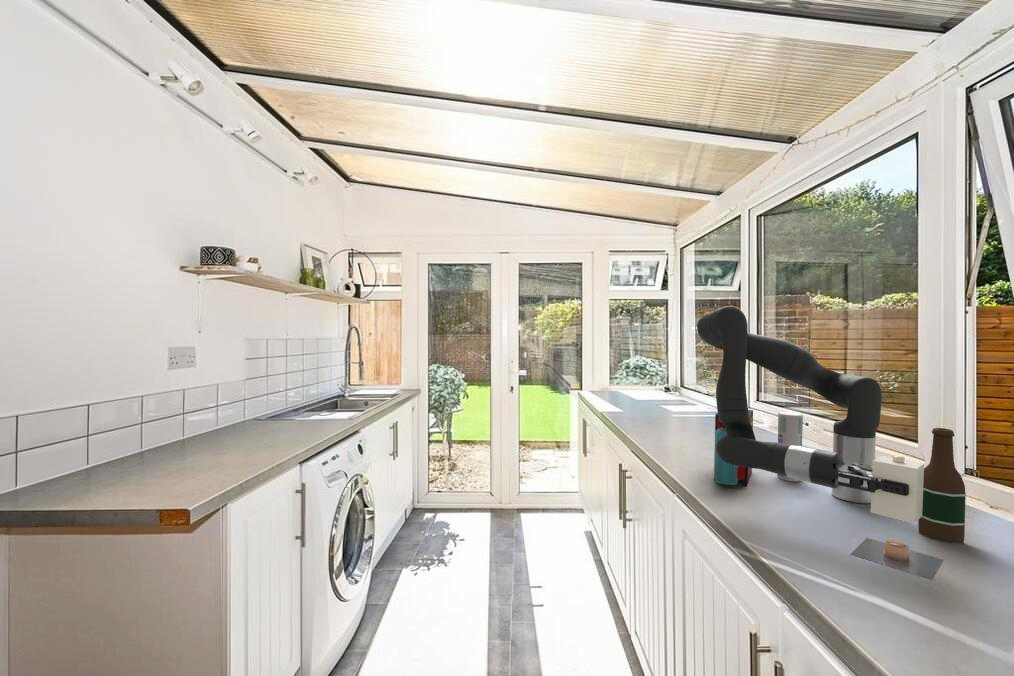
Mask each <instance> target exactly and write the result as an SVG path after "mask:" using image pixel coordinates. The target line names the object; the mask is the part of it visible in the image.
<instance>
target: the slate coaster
mask: <svg viewBox="0 0 1014 676" xmlns="http://www.w3.org/2000/svg"><path fill="white" fill-rule="evenodd" d="M849 555H850V556H853V557H857V558H860V559H863V560H867V561H869V562H873V563H877V564H879V565H883V566H885V567H889V568H891V569H894V570H898V571H902V572H905V573H908V574H911V575H914V576H918V577H921V578H924V579H926V580H927V579H928V580H930V581H933V579H934V577H935V576H936V574H937V572H938V571H939V569H940V567H941V565H942V564H943V562H944V559H943V558H940V557H935V556H932V555H930V554H929V555H928V554H925V553H922V552H918V551H915V550H911V549H910V550H909V561H906V562H904V561H897V560H894V559H891V558H888V557H886V556H885V555H884V541H879V540H876V539H873V538H869V537H866V538H864V540H863V541H862V542H861V543H860V544H859V545H858V546H857V547H855V549H853V550H852V552H850V554H849Z"/></svg>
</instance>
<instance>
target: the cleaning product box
mask: <svg viewBox="0 0 1014 676" xmlns="http://www.w3.org/2000/svg"><path fill="white" fill-rule="evenodd" d="M748 413H749V420H750V423H751V425H752V428H753V429H754V409H748ZM714 416H715V417H714V432H715V431H716V430H717V429H719V428H725V426H723V425H719V418H718V411H717V412H716V413H715V415H714ZM738 473H739V477H738V483H737V484H735V485H736V486H743V487H748V486H749V482H750V479H751V476H752V474H753V468H748V467H741V466H738ZM713 481H714V482H716V481H715V479H714V478H713Z"/></svg>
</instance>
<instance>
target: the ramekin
mask: <svg viewBox="0 0 1014 676" xmlns="http://www.w3.org/2000/svg"><path fill="white" fill-rule="evenodd" d="M883 542H884V555H885V556H886V557H888V558H891V559H894V560H897V561H904V562H906V561H909V550H911V549H910V546H909V545H908V544H906V543H904V542H901V541H896V540H891V539H889V540H888V539H887V540H884V541H883Z"/></svg>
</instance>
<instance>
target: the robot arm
mask: <svg viewBox="0 0 1014 676" xmlns="http://www.w3.org/2000/svg"><path fill="white" fill-rule="evenodd" d="M748 327H749V326H748V320H747V317H746V315H745V313H744V312H743V311H742V309H740V308H739V307H737V306H735V305H734V306H733V305H725V306H723V307H720V308H718V309H714V310H713V311H711V312H708V313H707V314H704V315H703V316H702V317H700V318H699V319H698V322H697V325H696V331H697V334H698V335H699V337H700V338H701V340H703V341H704V342H705V343H706V344H708V345H709V346H712V347H714V348H716V349H720V350H722V363H721V368H720V372H719V375H718V379H717V383H716V387H715V400H716V401H715V402H716V410H717V412H718V418H719V421H720V422H721V423H722V424H723V425H724V426H725V429H726V433H727V436H724V437H722V438H721V439H720V440H719V441H718V442H717V445H716V451H717V454H718V456H719V457H720V458H721V459H722V460H723V461H724V462H726V463H728V464H731V465H736V466H741V467H748V468H752V469H755V470H756V469H757V470H763V471H766V472H769V473H773V474H781V475H785V476H789V477H792V478H795V479H798V480H800V481H802V482H806V483H810V484H813V485H818V486H822V487H826V488H831V494H832V496H833V497H835V498H837V499H839V500H842V501H847V502H851V503H857V504H871V493H873V492H874V493H875V491H877V492H882V490H883V491H885V492H890V493H894V494H899V495H903V496H907V495H908V494H909V485H908V484H906V483H901V482H896V481H891V480H887V479H882V478H880V477H875V476H872V464H873V460H875V459H876V439H877V430H878V428H879V426H880V423H881V412H882V411H881V410H882V403H883V402H882V400H883V394H882V389H881V386H880V384H879V382H878V381H877V380H875V379H874V378H872V377H868V376H861V375H851V374H845V373H841V372H837V371H835V370H832V369H831V368H830V369H829V368H828V367H825V366H823V365H822V364H820V363H819V362H818V360H817V359H816V357H815V356H813V354H811V353H810V352H809V351H808V350H806V349H804V348H803V347H801V346H799V345H796V344H795V343H793V342H790V341H788V340H786V339H783V338H779V337H774V336H768V335H767V336H766V335H762V334H756V333H751V332H749V331H748V330H749V329H748ZM747 361H749V362H751V363H753V364H755V365H757V366H759V367H761V368H763V369H765V370H767V371H769V372H770V373H772V374H775V375H777V376H778V377H780V378H783V379H785V380H787V381H790V382H791V383H792V382H793V383H795V384H796V385H799V386H801V387H805V388H807V389H808V390H811V391H813V392H815V393H816V394H818V395H819V396H820V397H823V398H824V399H825V400H827V401H828V402H830V403H832V404H833V405H835V406H838V407H840V408H843V409H847V412H846V416H845V418H843V419H841V420H837V421H835V422H834V423H833V427H832V430H833V434H832V451H831V450H830V451H829V450H825V449H819V448H813V447H809V446H804V445H802V446H793V445H787V444H782V443H778V442H775V441H761V440H757V439H756V436H755V435H756V434H755V432H754V427H753V428H752V425H751V423H750V420H749V413H748V410H749V405H748V398H747V397H748V396H747V387H746V384H747V383H746V373H747V372H746V371H747V370H746V368H747Z"/></svg>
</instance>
